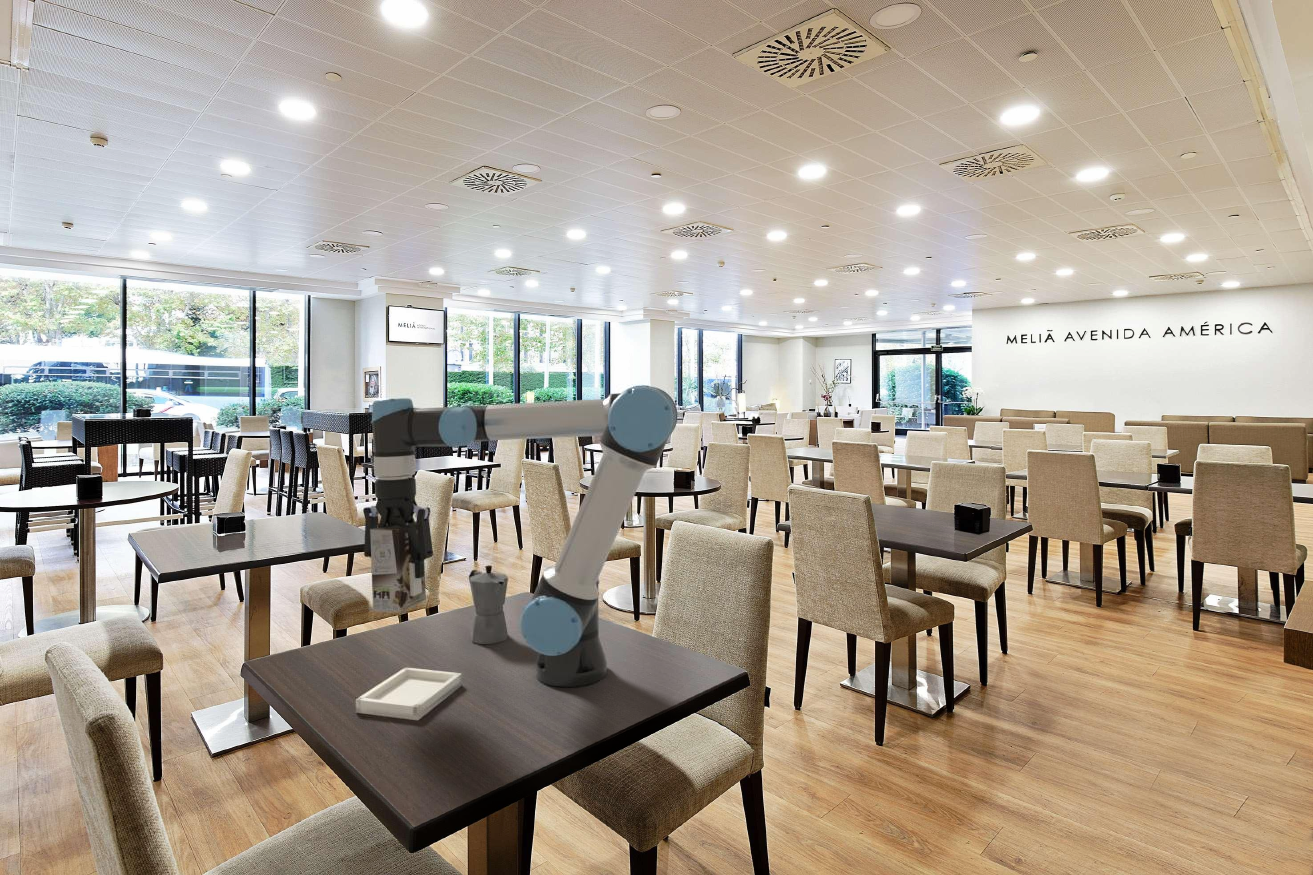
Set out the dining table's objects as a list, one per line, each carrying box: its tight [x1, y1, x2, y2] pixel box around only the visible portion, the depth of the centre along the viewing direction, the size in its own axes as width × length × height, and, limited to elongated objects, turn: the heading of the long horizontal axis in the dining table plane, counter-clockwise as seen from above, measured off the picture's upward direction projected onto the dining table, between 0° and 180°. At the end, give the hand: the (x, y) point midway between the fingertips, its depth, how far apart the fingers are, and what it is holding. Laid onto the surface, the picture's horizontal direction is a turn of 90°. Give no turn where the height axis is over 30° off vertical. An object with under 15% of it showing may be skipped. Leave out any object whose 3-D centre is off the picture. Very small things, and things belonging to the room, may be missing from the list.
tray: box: [355, 666, 463, 721], centre depth 138 cm, size 13×16×2 cm
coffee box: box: [370, 520, 427, 614], centre depth 139 cm, size 9×6×16 cm
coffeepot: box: [468, 564, 509, 645], centre depth 173 cm, size 15×9×18 cm, turn 44°
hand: (400, 592), depth 139 cm, fingers closed on coffee box, 6 cm apart
